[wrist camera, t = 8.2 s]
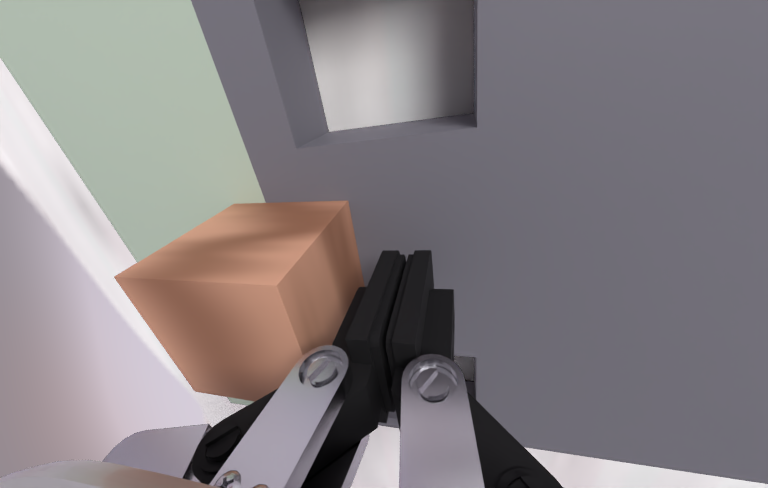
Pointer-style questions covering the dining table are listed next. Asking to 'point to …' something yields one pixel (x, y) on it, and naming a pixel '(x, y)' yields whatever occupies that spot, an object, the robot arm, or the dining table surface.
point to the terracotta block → (249, 292)
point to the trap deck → (476, 191)
